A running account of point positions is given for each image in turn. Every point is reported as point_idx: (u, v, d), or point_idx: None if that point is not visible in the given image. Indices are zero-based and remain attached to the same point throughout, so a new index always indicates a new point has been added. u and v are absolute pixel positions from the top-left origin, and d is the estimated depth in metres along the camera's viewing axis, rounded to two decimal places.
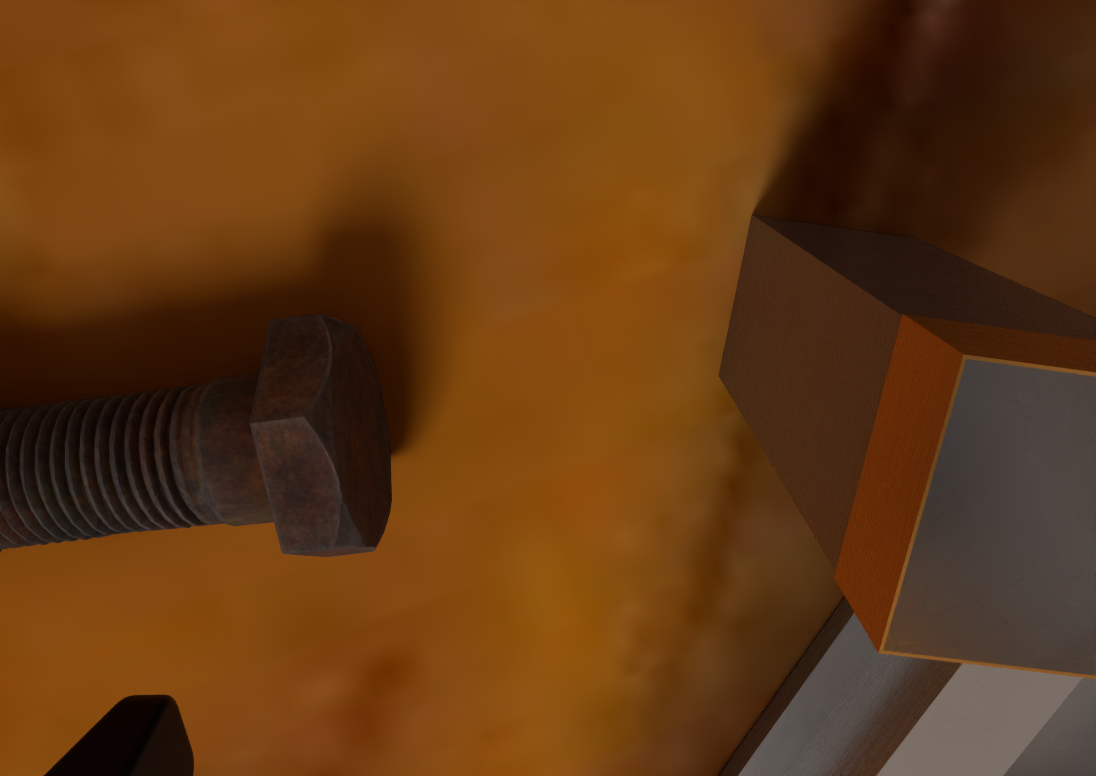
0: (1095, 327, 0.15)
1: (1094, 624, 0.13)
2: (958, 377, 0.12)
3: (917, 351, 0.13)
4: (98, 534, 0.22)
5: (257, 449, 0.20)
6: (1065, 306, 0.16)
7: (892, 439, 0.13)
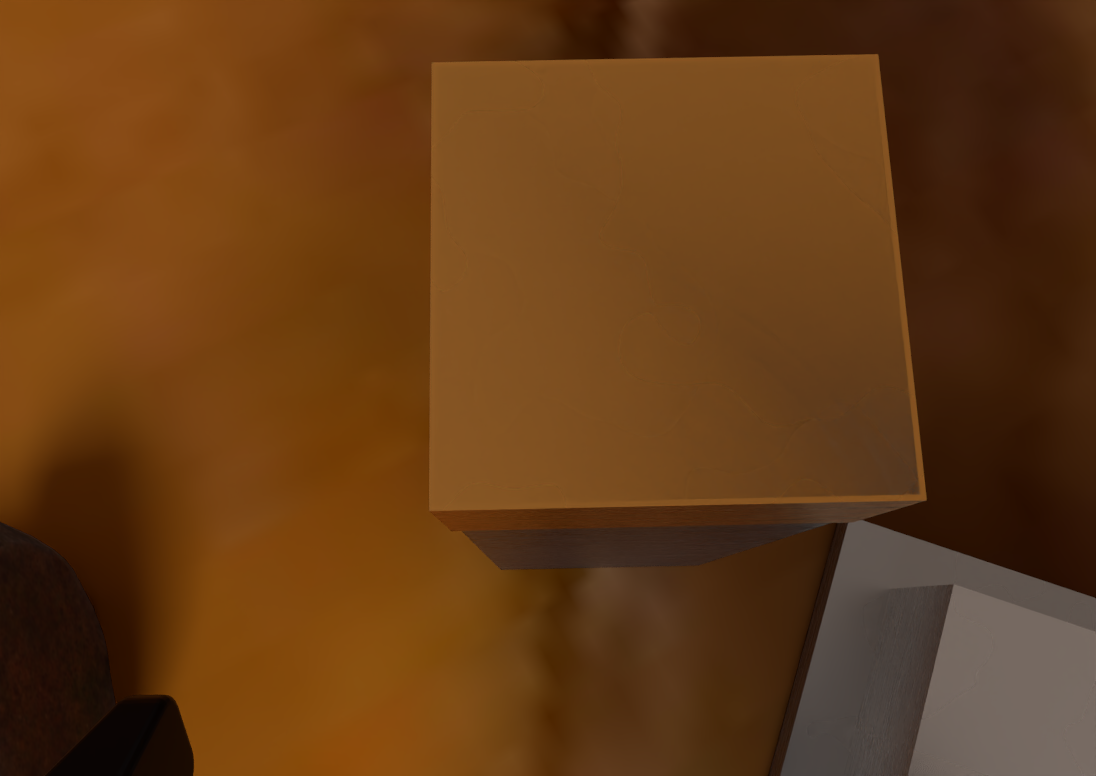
0: None
1: (750, 411, 0.08)
2: (437, 94, 0.09)
3: None
4: None
5: None
6: None
7: None
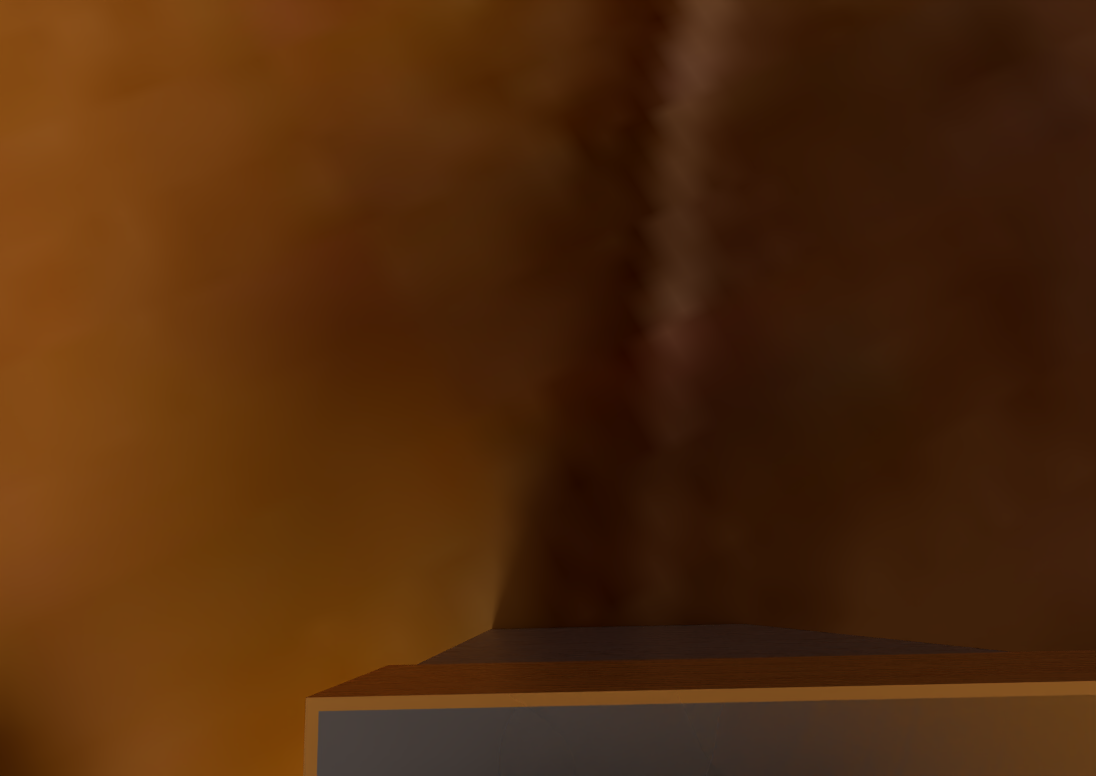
0: (912, 650, 0.07)
1: None
2: None
3: None
4: None
5: None
6: (888, 640, 0.09)
7: None
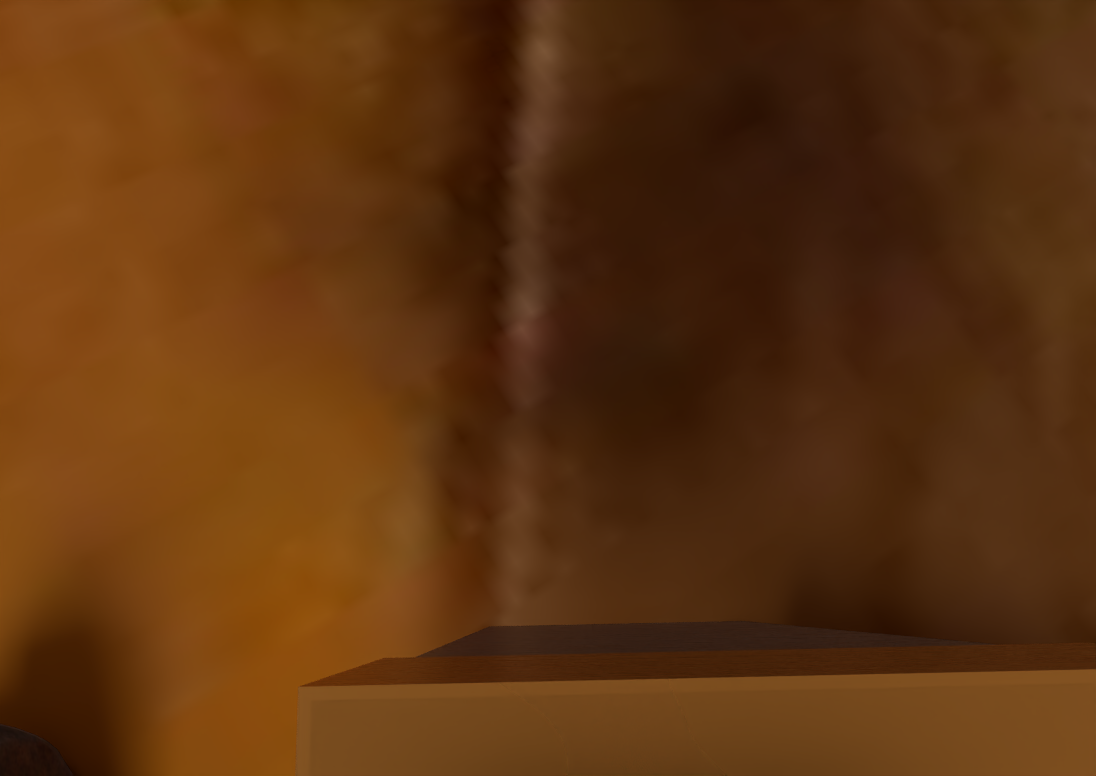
0: (908, 644, 0.07)
1: None
2: (311, 769, 0.04)
3: None
4: None
5: None
6: (884, 635, 0.09)
7: None
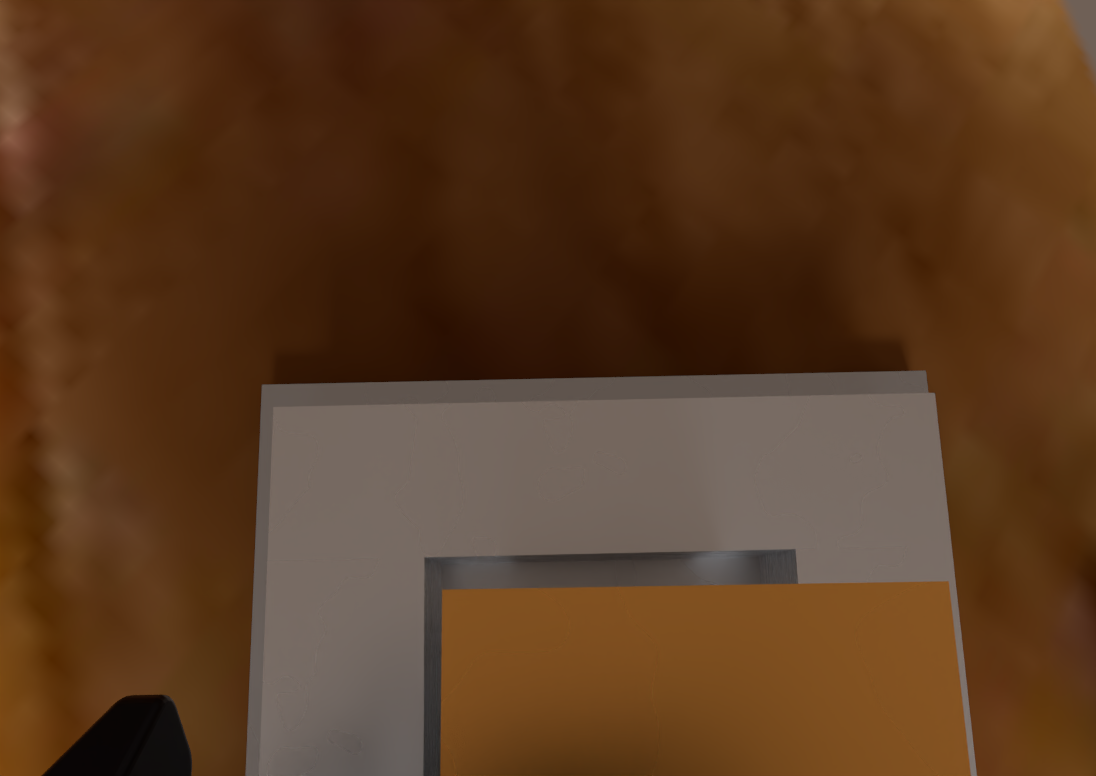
0: None
1: None
2: (448, 627, 0.08)
3: None
4: None
5: None
6: None
7: None
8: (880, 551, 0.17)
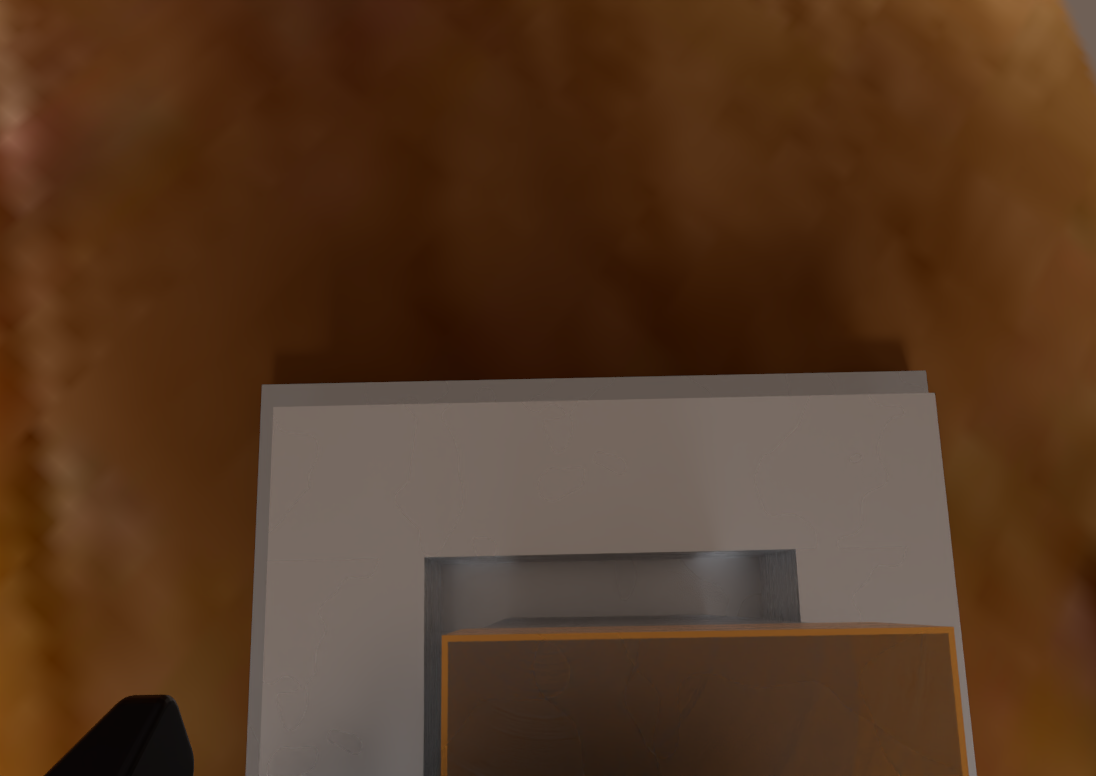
0: None
1: None
2: (447, 674, 0.08)
3: None
4: None
5: None
6: (783, 621, 0.13)
7: None
8: (880, 551, 0.17)
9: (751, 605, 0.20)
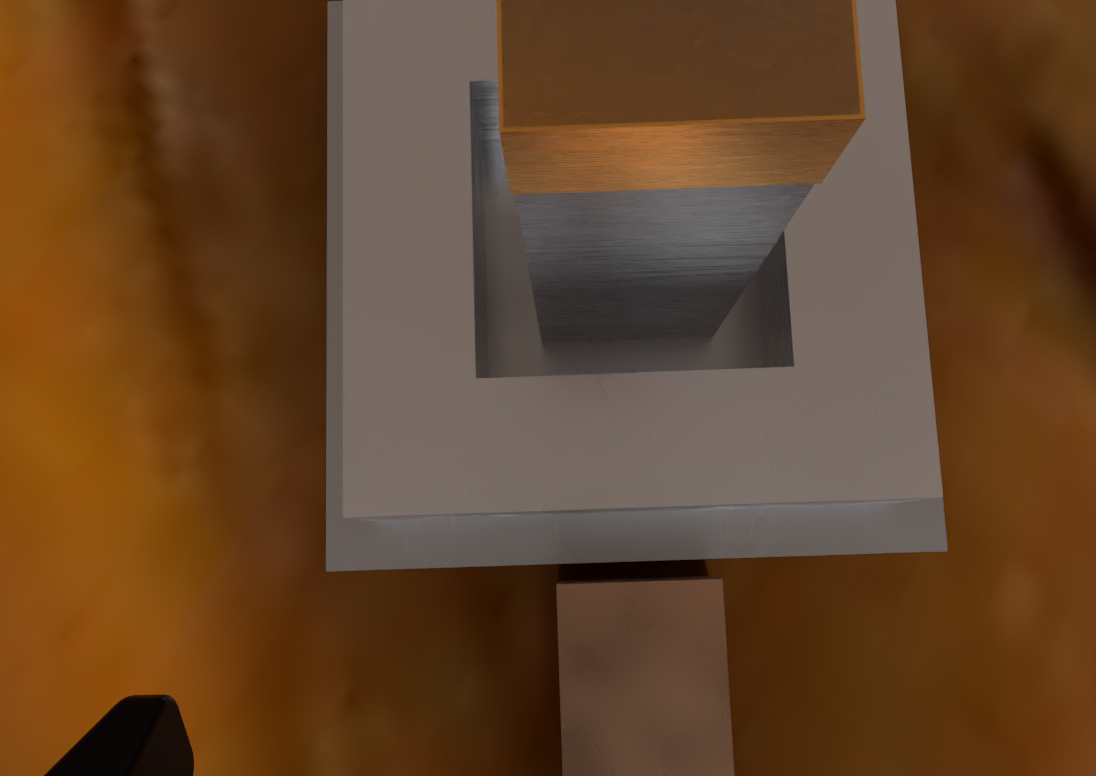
0: None
1: (735, 59, 0.11)
2: None
3: None
4: None
5: None
6: None
7: None
8: None
9: None
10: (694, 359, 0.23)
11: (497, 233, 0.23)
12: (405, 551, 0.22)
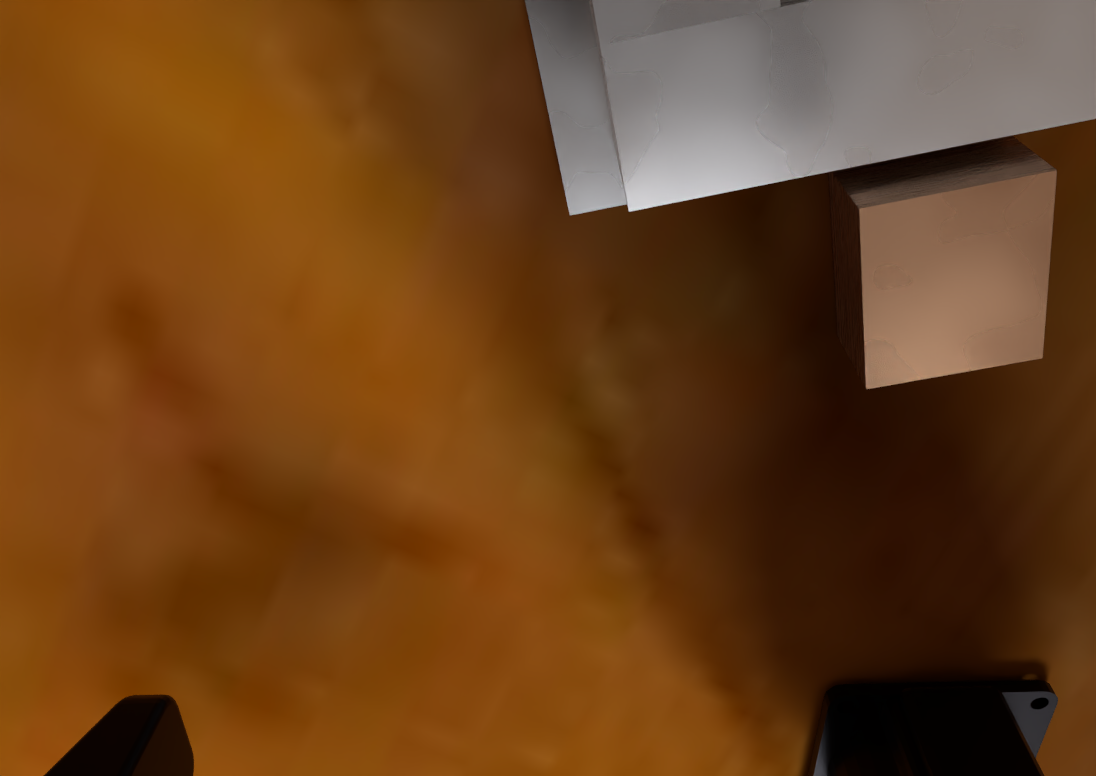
0: None
1: None
2: None
3: None
4: None
5: None
6: None
7: None
8: None
9: None
10: None
11: None
12: None
